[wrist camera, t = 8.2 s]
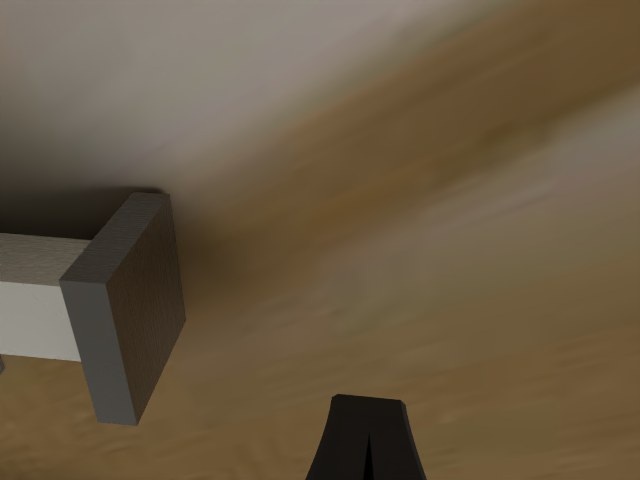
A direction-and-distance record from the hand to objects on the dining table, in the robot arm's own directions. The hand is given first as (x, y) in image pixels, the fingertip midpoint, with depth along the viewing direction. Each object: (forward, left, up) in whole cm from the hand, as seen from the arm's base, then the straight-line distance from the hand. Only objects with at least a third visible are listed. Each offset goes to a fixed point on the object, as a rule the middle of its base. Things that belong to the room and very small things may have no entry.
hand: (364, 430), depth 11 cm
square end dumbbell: (0, +9, -5) cm, 10 cm away
